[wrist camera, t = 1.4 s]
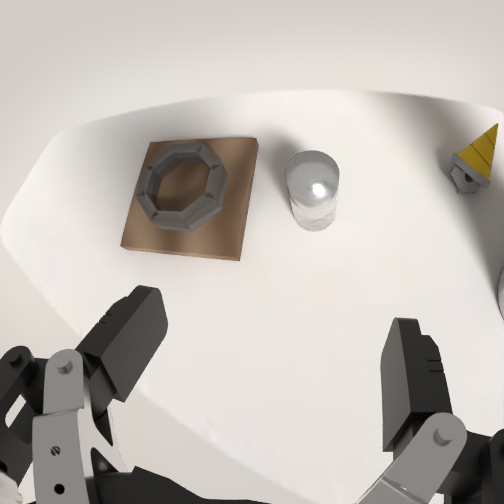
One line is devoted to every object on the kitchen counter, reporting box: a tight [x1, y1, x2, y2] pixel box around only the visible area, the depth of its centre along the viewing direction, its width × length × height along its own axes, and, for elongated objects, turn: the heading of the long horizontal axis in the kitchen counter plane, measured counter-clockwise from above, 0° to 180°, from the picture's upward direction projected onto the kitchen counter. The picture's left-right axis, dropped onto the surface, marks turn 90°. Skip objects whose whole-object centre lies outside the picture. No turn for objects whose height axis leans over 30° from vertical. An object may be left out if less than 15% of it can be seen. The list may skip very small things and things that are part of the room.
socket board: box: [120, 138, 259, 261], centre depth 33 cm, size 14×14×4 cm
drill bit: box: [451, 124, 498, 194], centre depth 26 cm, size 5×5×10 cm
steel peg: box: [285, 151, 339, 231], centre depth 28 cm, size 4×4×8 cm
